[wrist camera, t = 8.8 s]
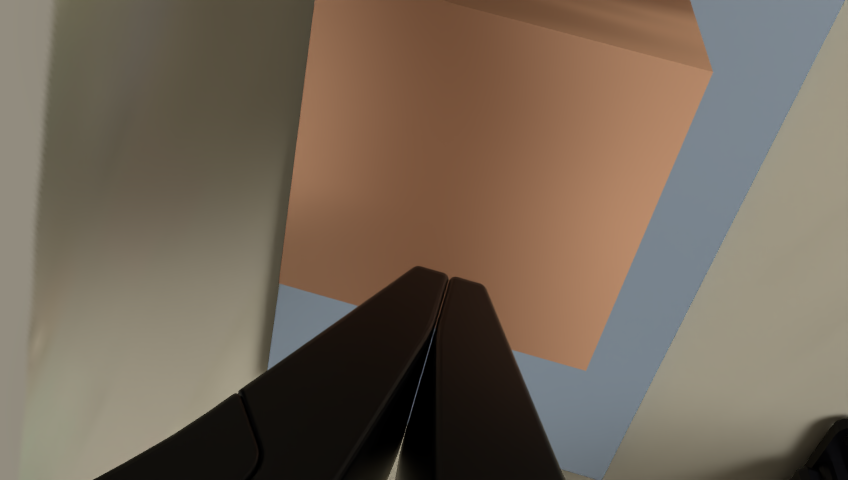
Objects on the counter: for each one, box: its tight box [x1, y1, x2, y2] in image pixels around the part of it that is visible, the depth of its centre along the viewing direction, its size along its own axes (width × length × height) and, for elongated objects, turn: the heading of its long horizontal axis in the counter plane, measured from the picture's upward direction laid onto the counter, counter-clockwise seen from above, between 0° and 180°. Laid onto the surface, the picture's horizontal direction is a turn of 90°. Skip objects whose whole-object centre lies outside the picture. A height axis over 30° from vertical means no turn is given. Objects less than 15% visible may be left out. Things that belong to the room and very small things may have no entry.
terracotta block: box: [279, 0, 713, 371], centre depth 13 cm, size 5×5×5 cm
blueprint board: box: [267, 0, 845, 480], centre depth 23 cm, size 12×19×1 cm, turn 168°
